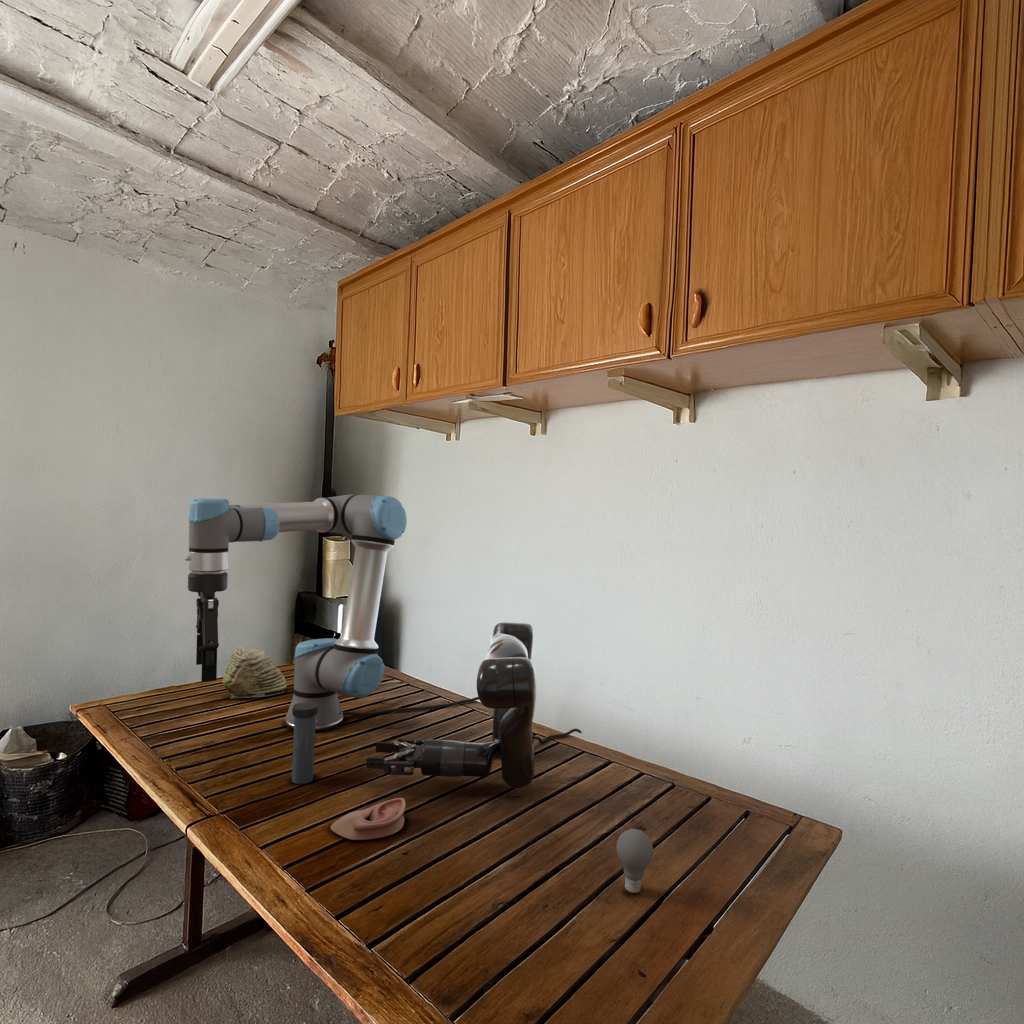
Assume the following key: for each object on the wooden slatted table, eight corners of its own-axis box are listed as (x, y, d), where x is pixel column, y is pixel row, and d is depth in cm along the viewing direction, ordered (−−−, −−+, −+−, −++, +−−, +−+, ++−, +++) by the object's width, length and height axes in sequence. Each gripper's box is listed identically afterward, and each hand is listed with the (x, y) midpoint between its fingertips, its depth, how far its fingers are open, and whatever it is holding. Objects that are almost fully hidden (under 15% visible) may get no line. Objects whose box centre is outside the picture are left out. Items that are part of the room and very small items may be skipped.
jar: (312, 783, 140) (315, 710, 140) (290, 784, 139) (293, 711, 138) (313, 774, 144) (316, 704, 144) (292, 775, 143) (295, 704, 143)
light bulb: (610, 879, 108) (613, 822, 108) (644, 879, 109) (647, 822, 109) (619, 902, 102) (622, 840, 102) (655, 901, 103) (658, 840, 103)
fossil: (218, 695, 195) (220, 647, 195) (278, 685, 208) (279, 640, 207) (228, 703, 189) (230, 653, 188) (289, 692, 201) (290, 645, 201)
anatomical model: (323, 814, 118) (350, 787, 130) (322, 835, 118) (350, 806, 130) (389, 824, 116) (412, 796, 127) (389, 846, 116) (411, 816, 127)
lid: (317, 717, 139) (317, 709, 139) (291, 718, 138) (291, 710, 138) (318, 709, 144) (318, 701, 144) (293, 710, 143) (293, 702, 143)
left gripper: (184, 565, 142) (182, 659, 142) (192, 580, 120) (190, 691, 121) (221, 564, 146) (219, 655, 146) (235, 579, 124) (232, 686, 125)
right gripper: (448, 729, 147) (379, 726, 148) (441, 754, 133) (364, 750, 133) (447, 761, 148) (377, 758, 148) (439, 789, 133) (362, 785, 133)
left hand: (205, 672), depth 133 cm, fingers open, 13 cm apart
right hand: (371, 754), depth 140 cm, fingers open, 8 cm apart
